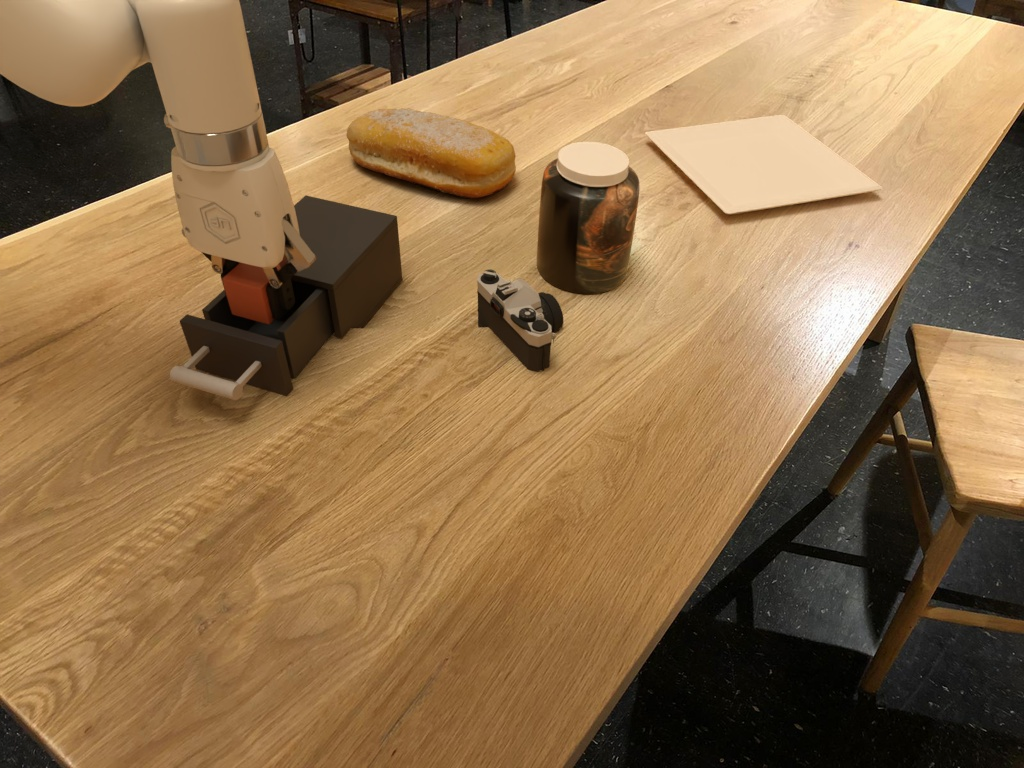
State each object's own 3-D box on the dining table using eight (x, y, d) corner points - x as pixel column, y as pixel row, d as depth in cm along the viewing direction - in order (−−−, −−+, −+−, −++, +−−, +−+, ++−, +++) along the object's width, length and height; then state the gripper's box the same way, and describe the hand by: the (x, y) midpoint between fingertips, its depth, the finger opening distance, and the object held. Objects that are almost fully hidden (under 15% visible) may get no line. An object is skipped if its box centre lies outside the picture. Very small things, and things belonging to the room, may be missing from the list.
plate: (780, 124, 130) (784, 112, 129) (879, 199, 112) (884, 186, 111) (642, 142, 124) (644, 130, 122) (723, 225, 106) (726, 212, 104)
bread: (487, 215, 106) (488, 162, 101) (331, 170, 114) (323, 119, 109) (528, 174, 115) (531, 123, 110) (380, 135, 123) (376, 86, 118)
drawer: (260, 436, 74) (244, 381, 69) (166, 407, 76) (144, 351, 71) (354, 325, 86) (346, 271, 81) (270, 303, 89) (258, 249, 84)
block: (269, 324, 76) (260, 288, 73) (231, 314, 77) (221, 278, 74) (293, 300, 79) (286, 264, 76) (256, 290, 80) (248, 255, 77)
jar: (522, 280, 95) (527, 169, 85) (553, 234, 103) (561, 127, 93) (613, 303, 92) (630, 191, 82) (638, 254, 100) (656, 146, 90)
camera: (589, 365, 84) (595, 295, 78) (532, 391, 80) (533, 320, 75) (522, 311, 92) (522, 244, 87) (467, 332, 89) (463, 264, 83)
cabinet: (343, 351, 84) (332, 284, 78) (250, 325, 87) (232, 258, 81) (402, 280, 94) (397, 215, 88) (316, 259, 97) (305, 195, 91)
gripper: (109, 136, 65) (169, 307, 77) (281, 174, 61) (316, 348, 73) (167, 102, 70) (215, 268, 82) (330, 135, 66) (354, 304, 79)
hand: (262, 304), depth 78 cm, fingers closed on block, 4 cm apart
